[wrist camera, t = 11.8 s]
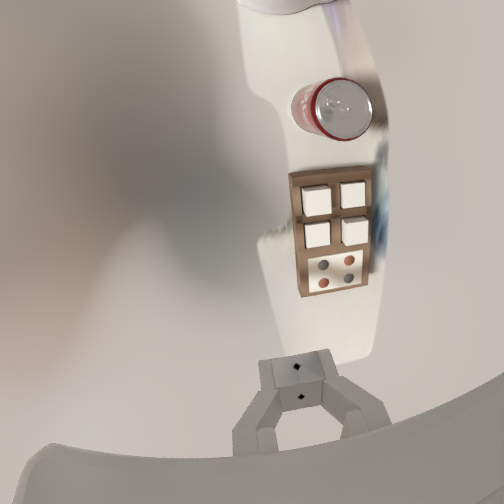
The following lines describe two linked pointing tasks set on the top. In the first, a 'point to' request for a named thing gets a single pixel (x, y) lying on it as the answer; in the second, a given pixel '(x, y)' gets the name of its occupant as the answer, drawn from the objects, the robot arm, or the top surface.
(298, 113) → the soda can
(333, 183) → the button board
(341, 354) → the top surface
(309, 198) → the button
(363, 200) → the button
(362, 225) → the button
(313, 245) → the button
